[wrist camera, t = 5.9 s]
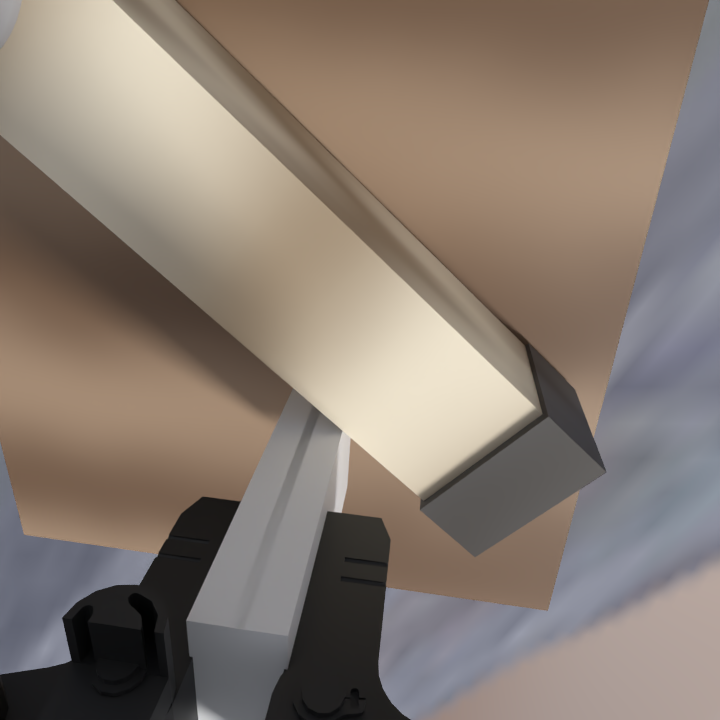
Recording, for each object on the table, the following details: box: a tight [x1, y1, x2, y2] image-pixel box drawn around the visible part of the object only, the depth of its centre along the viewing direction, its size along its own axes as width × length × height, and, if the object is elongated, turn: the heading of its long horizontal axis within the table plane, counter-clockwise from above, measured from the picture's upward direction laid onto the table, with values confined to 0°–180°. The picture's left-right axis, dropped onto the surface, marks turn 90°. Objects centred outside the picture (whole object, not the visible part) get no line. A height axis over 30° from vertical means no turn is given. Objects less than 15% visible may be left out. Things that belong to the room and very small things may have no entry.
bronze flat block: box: [0, 0, 709, 611], centre depth 13 cm, size 19×17×7 cm
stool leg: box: [0, 0, 606, 557], centre depth 11 cm, size 16×4×3 cm, turn 47°
